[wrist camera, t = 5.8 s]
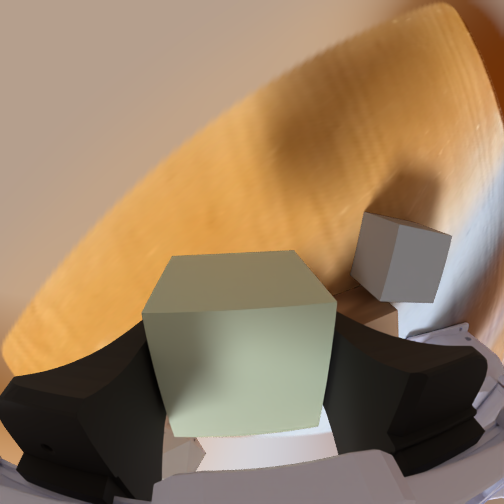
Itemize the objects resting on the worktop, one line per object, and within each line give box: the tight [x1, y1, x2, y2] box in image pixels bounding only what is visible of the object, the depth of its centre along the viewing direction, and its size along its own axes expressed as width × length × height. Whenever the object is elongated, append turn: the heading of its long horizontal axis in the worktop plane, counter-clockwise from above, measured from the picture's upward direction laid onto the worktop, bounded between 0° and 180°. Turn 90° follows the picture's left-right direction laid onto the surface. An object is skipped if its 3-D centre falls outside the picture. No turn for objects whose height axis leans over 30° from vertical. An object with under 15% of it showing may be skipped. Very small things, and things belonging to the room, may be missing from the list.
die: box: [162, 415, 206, 480], centre depth 21 cm, size 8×9×10 cm
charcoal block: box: [350, 212, 452, 303], centre depth 19 cm, size 5×5×5 cm
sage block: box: [142, 250, 337, 437], centre depth 10 cm, size 5×5×5 cm
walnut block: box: [333, 286, 398, 337], centre depth 21 cm, size 5×5×5 cm
